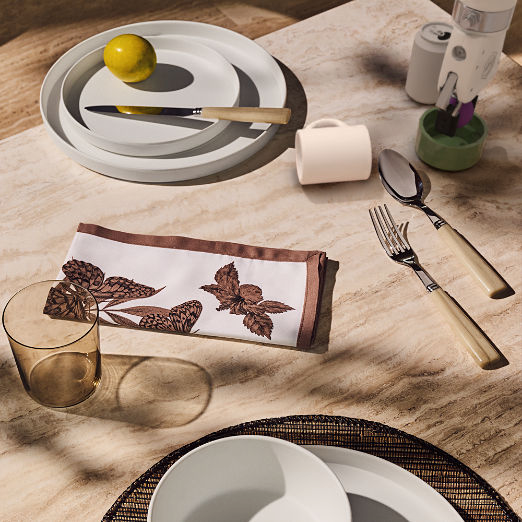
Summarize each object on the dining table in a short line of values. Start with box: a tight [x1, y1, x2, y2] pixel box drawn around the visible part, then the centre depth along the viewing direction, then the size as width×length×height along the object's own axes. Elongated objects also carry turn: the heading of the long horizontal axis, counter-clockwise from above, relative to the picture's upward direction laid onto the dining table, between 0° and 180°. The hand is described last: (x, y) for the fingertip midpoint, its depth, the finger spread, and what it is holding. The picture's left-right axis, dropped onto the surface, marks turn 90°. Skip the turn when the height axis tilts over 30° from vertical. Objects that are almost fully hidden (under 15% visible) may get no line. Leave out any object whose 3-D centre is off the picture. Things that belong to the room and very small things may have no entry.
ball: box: [449, 98, 475, 128], centre depth 100 cm, size 5×5×5 cm
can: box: [404, 20, 455, 105], centre depth 112 cm, size 8×8×12 cm
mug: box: [294, 117, 373, 185], centre depth 101 cm, size 12×10×8 cm
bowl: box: [413, 106, 489, 172], centre depth 104 cm, size 10×10×5 cm
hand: (453, 122), depth 102 cm, fingers closed on ball, 4 cm apart
